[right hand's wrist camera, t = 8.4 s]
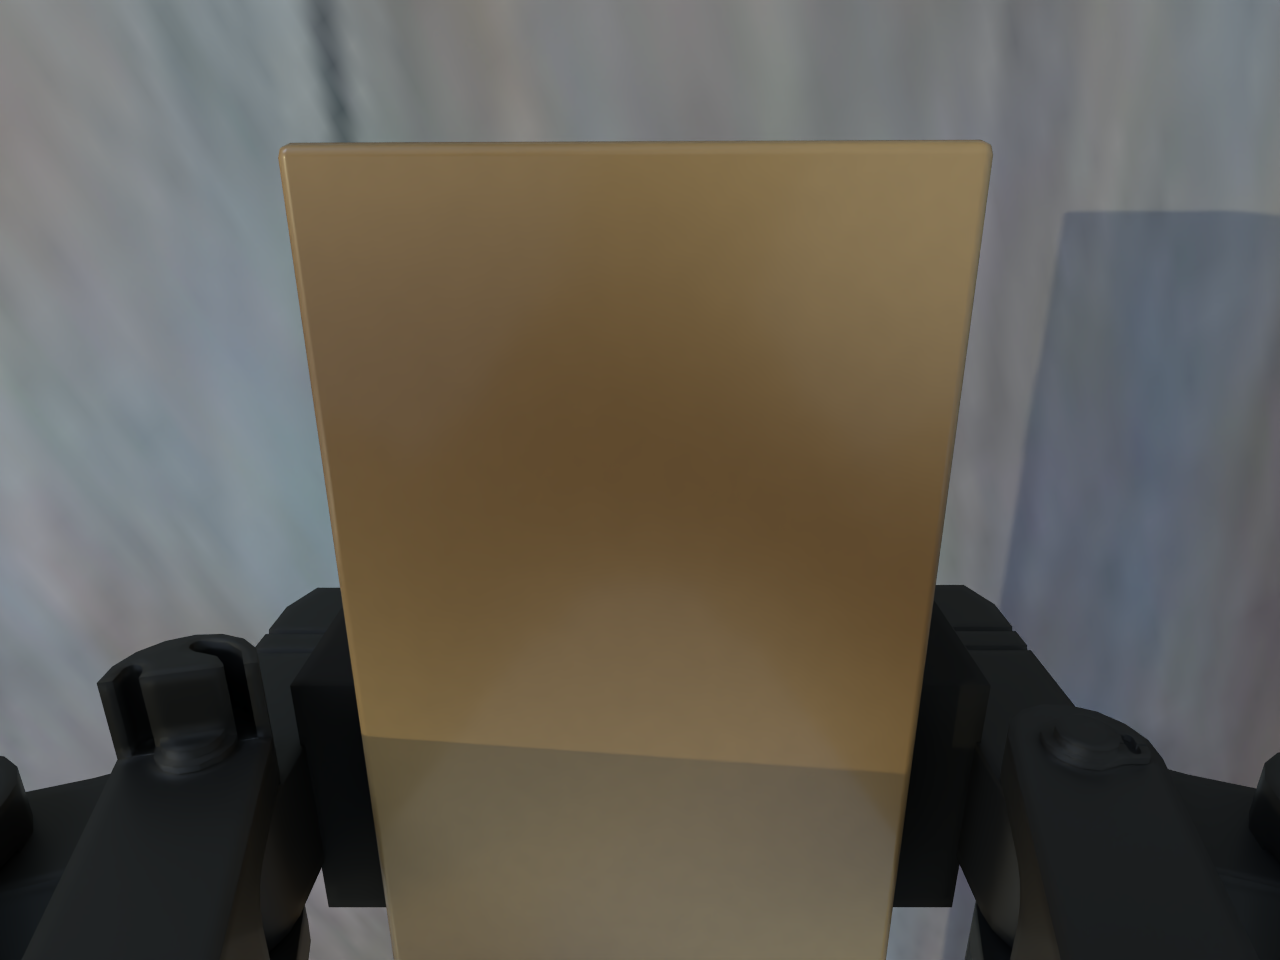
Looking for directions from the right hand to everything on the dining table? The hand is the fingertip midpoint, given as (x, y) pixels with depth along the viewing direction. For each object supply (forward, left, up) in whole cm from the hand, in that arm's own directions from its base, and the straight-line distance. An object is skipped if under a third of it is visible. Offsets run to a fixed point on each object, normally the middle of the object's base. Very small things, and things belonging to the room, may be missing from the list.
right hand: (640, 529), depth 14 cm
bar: (+16, +28, -1) cm, 32 cm away
